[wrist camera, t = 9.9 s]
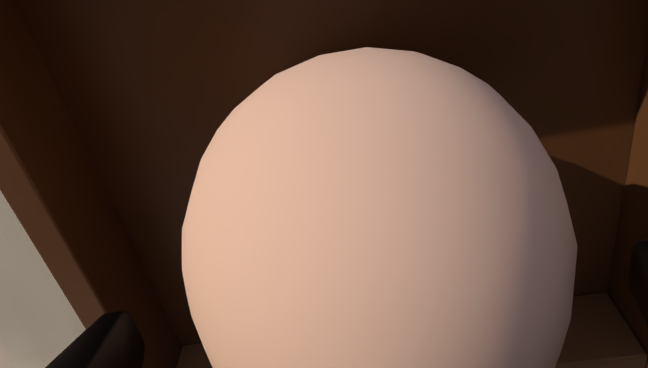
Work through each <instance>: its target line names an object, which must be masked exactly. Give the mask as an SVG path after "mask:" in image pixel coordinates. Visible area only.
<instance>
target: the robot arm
mask: <svg viewBox="0 0 648 368" xmlns="http://www.w3.org/2000/svg"><path fill="white" fill-rule="evenodd" d="M628 285H629V288H630V291H631V293H632V295H633V297H634V300H635V302H636V304H637V306H638V308H639V310H640V312H641V315H642V317H643V319H644V321H645V323H646V325H647V328H648V239H646V240H640V241H637V242H636V243H635V244H634V246H633V250H632V256H631V261H630V266H629V272H628ZM144 355H145V344H144V340H143V338H142V336H141V334H140V332H139V331H138V329H137V327H136V325H135V323H134V321H133V319H132V317H131V316H130V314H129V313H128V312H126V311H116V312H109V313H105V314H103V315H102V316H100V317H99V318H98V319H97V320H96V321H95V322H94V323H93V324H92V325H91V326H89V327H88V328H87V329H86V330H85V331H84V332H83V333H82V334H81V335H80V336H79V337H78V338H77V339H76V340H74V341H73V342H72V343H71V344H70V345H69V346H68V347H67V348H66V349H65V350H64V351H63V352H62V353H60V354H59V355H58V356H57V357H56V358H55V359H54V360H53V361H52V362H51V363H50V364H49V365H48V366H47V367H45V368H143V362H144Z"/></svg>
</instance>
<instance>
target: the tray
mask: <svg viewBox="0 0 648 368" xmlns="http://www.w3.org/2000/svg"><path fill="white" fill-rule="evenodd" d="M364 47H371V48H382V49H393V50H405V51H415V52H418V53H422V54H424V55H427V56H430V57H433V58H435V59H438V60H441V61H444V62H446V63H449V64H452V65H455V66H457V67H460V68H462V69H464V70H465V71H467V72H469V73H470V74H472V75H474V76H476V77H477V78H479V79H481V80H482V81H484V82H486V83H487V84H488V85H490V86H491V87H492V88H493V89H494V90H495V91H496V92H497V93H499V94H500V95H501V96H502V97H503V98H504V99H505V100H506V102H507V103H508V104H509V105H510V106H511V107H512V108H513V109H514V110H515V111H516V112H517V113H518V114H519V115H520V116H521V117H522V118H523V119H524V120H525V121H526V122H527V123H528V124H529V125H530V126H531V127H532V129H533V130H534V132H535V133H536V135H537V137H538V138H539V140H540V142H541V143H542V145H543V147H544V148H545V150H546V152H547V153H548V155H549V157H550V158H551V160H552V162H553V163H554V165H555V167H556V168H557V171H558V174H559V178H560V181H561V184H562V187H563V191H564V194H565V197H566V201H567V205H568V209H569V213H570V217H571V221H572V225H573V229H574V233H575V238H576V242H577V246H578V248H577V259H576V270H575V280H574V291H573V302H572V313H571V320H570V324H569V327H568V330H567V334H566V337H565V340H564V344H563V347H562V350H561V353H560V356H559V358H558V361H557V363H556V366H555V368H648V328H647V325H646V323H645V321H644V319H643V317H642V315H641V312H640V310H639V308H638V306H637V304H636V302H635V300H634V297H633V295H632V293H631V291H630V288H629V285H628V272H629V266H630V261H631V256H632V250H633V246H634V244H635V243H636V242H637V241H640V240H646V239H648V0H0V190H1V192H2V193H3V195H4V197H5V198H6V200H7V202H8V203H9V205H10V206H11V208H12V210H13V211H14V213H15V215H16V216H17V218H18V219H19V221H20V223H21V224H22V226H23V228H24V229H25V231H26V232H27V234H28V236H29V237H30V239H31V241H32V242H33V244H34V245H35V247H36V249H37V250H38V252H39V254H40V255H41V257H42V258H43V260H44V262H45V263H46V265H47V267H48V268H49V270H50V271H51V273H52V275H53V276H54V278H55V280H56V281H57V283H58V284H59V286H60V288H61V289H62V291H63V293H64V294H65V296H66V297H67V299H68V301H69V302H70V304H71V306H72V307H73V309H74V310H75V312H76V314H77V315H78V317H79V319H80V320H81V322H82V324H83V325H84V327H85V328H86V329H87V328H88V327H89V326H91V325H92V324H93V323H94V322H95V321H96V320H97V319H98V318H99V317H100V316H102V315H103V314H105V313H109V312H116V311H126V312H128V313H129V314H130V316H131V317H132V319H133V321H134V323H135V325H136V327H137V329H138V331H139V332H140V334H141V336H142V338H143V340H144V344H145V355H144V362H143V368H213V367H212V365H211V363H210V361H209V358H208V356H207V354H206V352H205V349H204V347H203V344H202V342H201V339H200V337H199V334H198V332H197V329H196V327H195V324H194V322H193V319H192V316H191V312H190V308H189V304H188V299H187V295H186V290H185V284H184V279H183V273H182V227H183V223H184V219H185V215H186V211H187V207H188V203H189V199H190V195H191V192H192V188H193V184H194V181H195V178H196V174H197V171H198V167H199V164H200V161H201V158H202V156H203V154H204V153H205V151H206V149H207V147H208V145H209V144H210V142H211V140H212V138H213V136H214V135H215V133H216V131H217V129H218V128H219V127H220V126H221V124H222V123H223V122H224V121H225V119H226V118H227V117H228V116H229V114H230V113H231V112H232V111H233V109H234V108H235V107H237V106H238V105H239V104H240V103H241V102H242V101H244V100H245V99H246V98H247V97H248V96H249V95H251V94H252V93H253V92H254V91H255V90H256V89H258V88H259V87H260V86H261V85H263V84H264V83H265V82H266V81H268V80H269V79H270V78H272V77H273V76H274V75H275V74H277V73H280V72H282V71H284V70H287V69H289V68H291V67H293V66H296V65H298V64H300V63H303V62H305V61H307V60H309V59H312V58H314V57H316V56H319V55H323V54H329V53H335V52H341V51H347V50H353V49H358V48H364Z"/></svg>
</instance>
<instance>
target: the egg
mask: <svg viewBox="0 0 648 368" xmlns="http://www.w3.org/2000/svg"><path fill="white" fill-rule="evenodd" d="M577 248H578V246H577V242H576V238H575V233H574V229H573V225H572V221H571V217H570V213H569V209H568V205H567V201H566V197H565V194H564V191H563V187H562V184H561V181H560V178H559V174H558V171H557V168H556V167H555V165H554V163H553V162H552V160H551V158H550V157H549V155H548V153H547V152H546V150H545V148H544V147H543V145H542V143H541V142H540V140H539V138H538V137H537V135H536V133H535V132H534V130H533V129H532V127H531V126H530V125H529V124H528V123H527V122H526V121H525V120H524V119H523V118H522V117H521V116H520V115H519V114H518V113H517V112H516V111H515V110H514V109H513V108H512V107H511V106H510V105H509V104H508V103H507V102H506V100H505V99H504V98H503V97H502V96H501V95H500V94H499V93H497V92H496V91H495V90H494V89H493V88H492V87H491V86H490V85H488V84H487V83H486V82H484V81H482V80H481V79H479V78H477V77H476V76H474V75H472V74H470V73H469V72H467V71H465V70H464V69H462V68H460V67H457V66H455V65H452V64H449V63H446V62H444V61H441V60H438V59H435V58H433V57H430V56H427V55H424V54H422V53H418V52H415V51H405V50H393V49H382V48H371V47H364V48H358V49H353V50H347V51H341V52H335V53H329V54H323V55H319V56H316V57H314V58H312V59H309V60H307V61H305V62H303V63H300V64H298V65H296V66H293V67H291V68H289V69H287V70H284V71H282V72H280V73H277V74H275V75H274V76H273V77H272V78H270V79H269V80H268V81H266V82H265V83H264V84H263V85H261V86H260V87H259V88H258V89H256V90H255V91H254V92H253V93H252V94H251V95H249V96H248V97H247V98H246V99H245V100H244V101H242V102H241V103H240V104H239V105H238V106H237V107H235V108H234V109H233V111H232V112H231V113H230V114H229V116H228V117H227V118H226V119H225V121H224V122H223V123H222V124H221V126H220V127H219V128H218V129H217V131H216V133H215V135H214V136H213V138H212V140H211V142H210V144H209V145H208V147H207V149H206V151H205V153H204V154H203V156H202V158H201V161H200V164H199V167H198V171H197V174H196V178H195V181H194V184H193V188H192V192H191V195H190V199H189V203H188V207H187V211H186V215H185V219H184V223H183V227H182V273H183V279H184V284H185V290H186V295H187V299H188V304H189V308H190V312H191V316H192V319H193V322H194V324H195V327H196V329H197V332H198V334H199V337H200V339H201V342H202V344H203V347H204V349H205V352H206V354H207V356H208V358H209V361H210V363H211V365H212V367H213V368H555V366H556V363H557V361H558V358H559V356H560V353H561V350H562V347H563V344H564V340H565V337H566V334H567V330H568V327H569V324H570V320H571V313H572V302H573V291H574V280H575V270H576V259H577Z"/></svg>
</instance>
